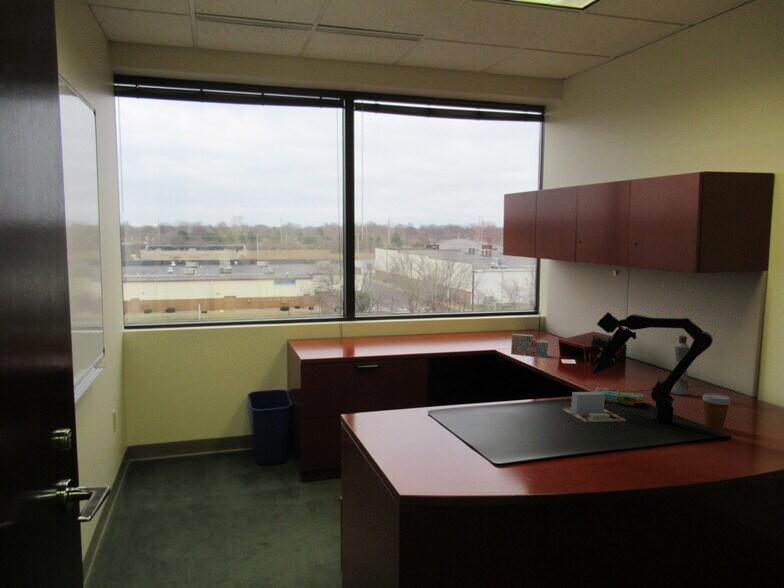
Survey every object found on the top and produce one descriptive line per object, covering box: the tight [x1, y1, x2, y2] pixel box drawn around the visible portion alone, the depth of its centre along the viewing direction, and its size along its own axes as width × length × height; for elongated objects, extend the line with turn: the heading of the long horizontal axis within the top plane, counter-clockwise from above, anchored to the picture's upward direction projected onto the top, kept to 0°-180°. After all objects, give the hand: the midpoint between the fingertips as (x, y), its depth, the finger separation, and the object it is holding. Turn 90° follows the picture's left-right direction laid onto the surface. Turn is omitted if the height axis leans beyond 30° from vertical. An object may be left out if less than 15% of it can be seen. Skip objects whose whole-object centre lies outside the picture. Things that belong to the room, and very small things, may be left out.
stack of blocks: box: [510, 333, 549, 358], centre depth 356 cm, size 21×6×12 cm, turn 74°
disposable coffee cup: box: [701, 392, 731, 431], centre depth 222 cm, size 10×10×12 cm
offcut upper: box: [587, 412, 611, 419], centre depth 222 cm, size 3×7×2 cm, turn 98°
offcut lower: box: [584, 416, 613, 420], centre depth 222 cm, size 4×10×2 cm, turn 102°
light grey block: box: [570, 391, 606, 414], centre depth 229 cm, size 4×12×9 cm, turn 104°
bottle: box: [670, 334, 690, 396], centre depth 274 cm, size 9×9×28 cm
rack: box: [561, 406, 627, 423], centre depth 226 cm, size 17×17×2 cm
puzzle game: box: [593, 386, 645, 406], centre depth 254 cm, size 12×5×20 cm
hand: (593, 369), depth 239 cm, fingers open, 9 cm apart
